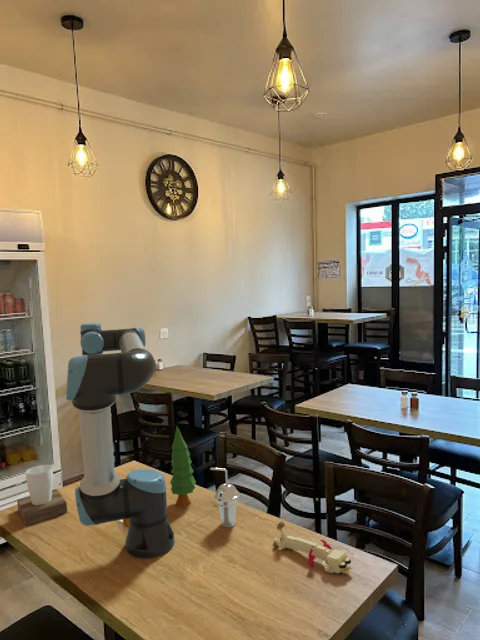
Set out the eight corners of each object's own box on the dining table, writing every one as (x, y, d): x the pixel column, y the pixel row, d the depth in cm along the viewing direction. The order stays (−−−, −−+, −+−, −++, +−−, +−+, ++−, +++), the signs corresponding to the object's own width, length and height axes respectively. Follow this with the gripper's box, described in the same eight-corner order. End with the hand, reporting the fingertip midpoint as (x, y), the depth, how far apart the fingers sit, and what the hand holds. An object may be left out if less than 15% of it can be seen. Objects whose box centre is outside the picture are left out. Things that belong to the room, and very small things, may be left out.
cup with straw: (235, 532, 155) (232, 473, 153) (210, 527, 158) (207, 469, 156) (244, 519, 162) (242, 463, 161) (220, 515, 166) (217, 460, 164)
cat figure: (269, 555, 143) (341, 582, 126) (266, 527, 143) (338, 550, 126) (288, 541, 151) (359, 565, 134) (286, 514, 150) (356, 534, 133)
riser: (67, 512, 173) (66, 502, 172) (25, 525, 164) (24, 514, 164) (57, 498, 184) (56, 488, 184) (18, 510, 176) (17, 499, 176)
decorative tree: (166, 506, 174) (161, 427, 171) (179, 495, 183) (175, 419, 180) (189, 510, 170) (185, 429, 168) (201, 498, 179) (197, 421, 176)
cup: (45, 507, 168) (42, 475, 167) (22, 506, 170) (20, 474, 169) (59, 496, 177) (57, 465, 176) (38, 495, 179) (35, 464, 178)
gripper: (116, 367, 169) (119, 425, 171) (91, 359, 189) (95, 411, 191) (95, 370, 164) (99, 429, 166) (72, 362, 184) (76, 415, 186)
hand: (97, 420), depth 178 cm, fingers open, 13 cm apart
